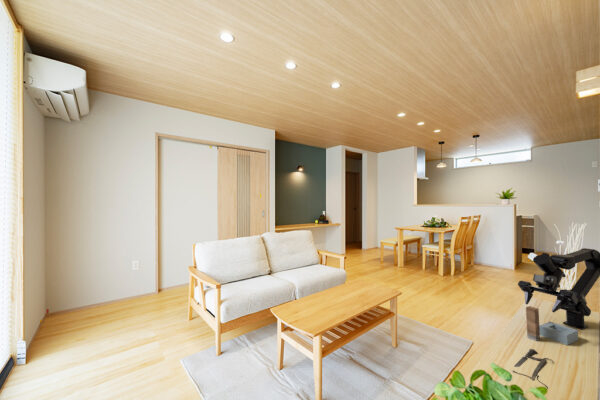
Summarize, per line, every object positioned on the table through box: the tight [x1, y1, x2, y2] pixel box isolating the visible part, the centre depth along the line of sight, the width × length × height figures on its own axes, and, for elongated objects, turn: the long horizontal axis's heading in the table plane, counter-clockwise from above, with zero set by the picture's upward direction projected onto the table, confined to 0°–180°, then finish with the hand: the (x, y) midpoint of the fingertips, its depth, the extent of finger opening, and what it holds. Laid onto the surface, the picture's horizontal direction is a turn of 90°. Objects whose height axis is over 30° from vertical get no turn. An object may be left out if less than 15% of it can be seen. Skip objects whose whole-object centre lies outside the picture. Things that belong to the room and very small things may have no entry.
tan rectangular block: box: [525, 305, 541, 342], centre depth 108 cm, size 3×3×13 cm
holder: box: [539, 321, 579, 346], centre depth 108 cm, size 9×9×4 cm
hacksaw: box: [512, 348, 554, 390], centre depth 89 cm, size 24×10×2 cm, turn 122°
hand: (538, 307), depth 110 cm, fingers open, 9 cm apart
